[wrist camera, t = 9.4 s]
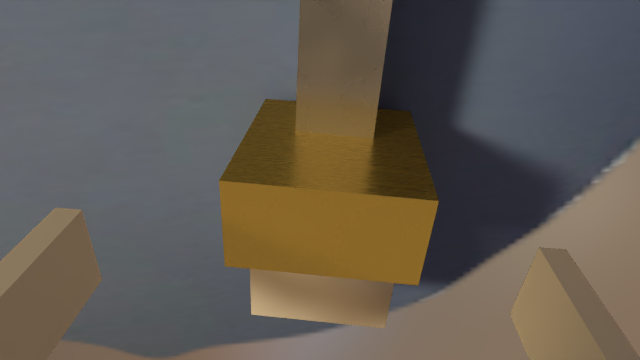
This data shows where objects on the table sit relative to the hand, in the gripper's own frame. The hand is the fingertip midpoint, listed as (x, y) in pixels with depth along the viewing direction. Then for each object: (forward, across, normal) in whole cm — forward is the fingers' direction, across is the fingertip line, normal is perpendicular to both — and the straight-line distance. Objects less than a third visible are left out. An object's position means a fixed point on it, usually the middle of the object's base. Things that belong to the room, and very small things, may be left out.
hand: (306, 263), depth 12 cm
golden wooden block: (+10, +1, +3) cm, 10 cm away
